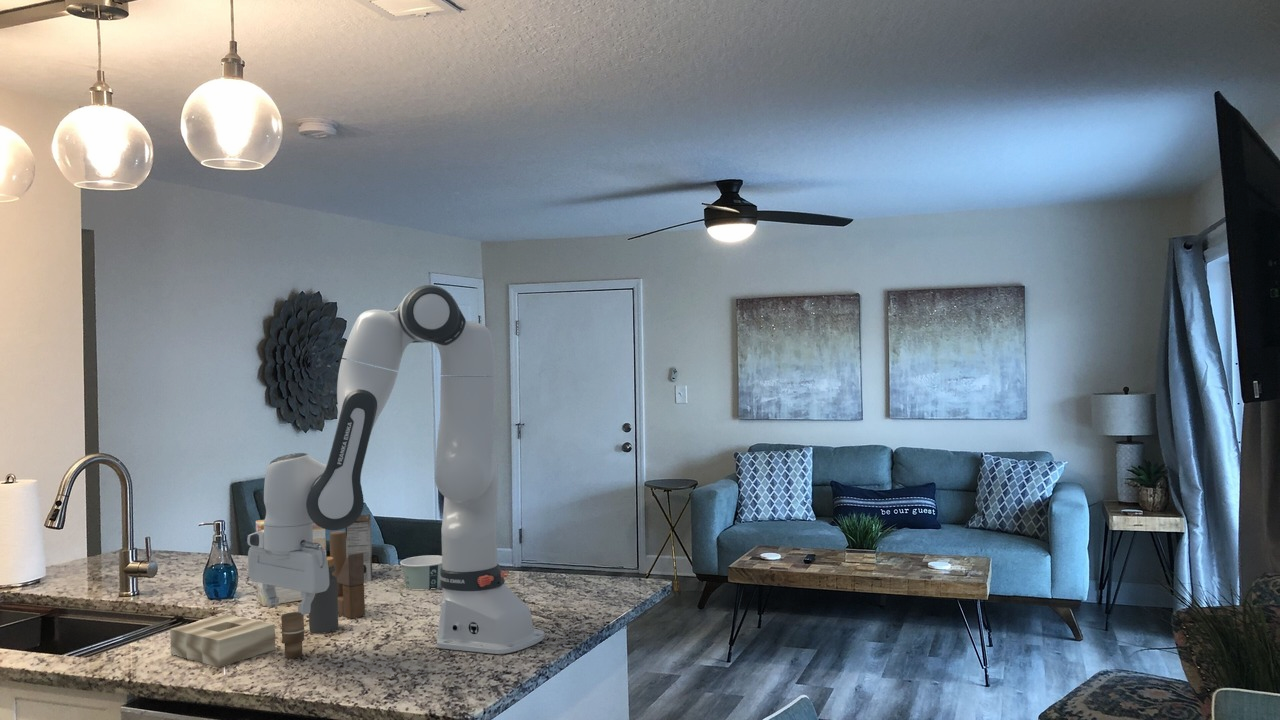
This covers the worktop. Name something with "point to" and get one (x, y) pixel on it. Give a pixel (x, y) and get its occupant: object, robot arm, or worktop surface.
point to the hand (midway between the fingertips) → (288, 610)
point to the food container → (422, 571)
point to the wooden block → (347, 577)
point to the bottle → (325, 606)
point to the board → (222, 640)
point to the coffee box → (361, 542)
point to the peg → (293, 634)
